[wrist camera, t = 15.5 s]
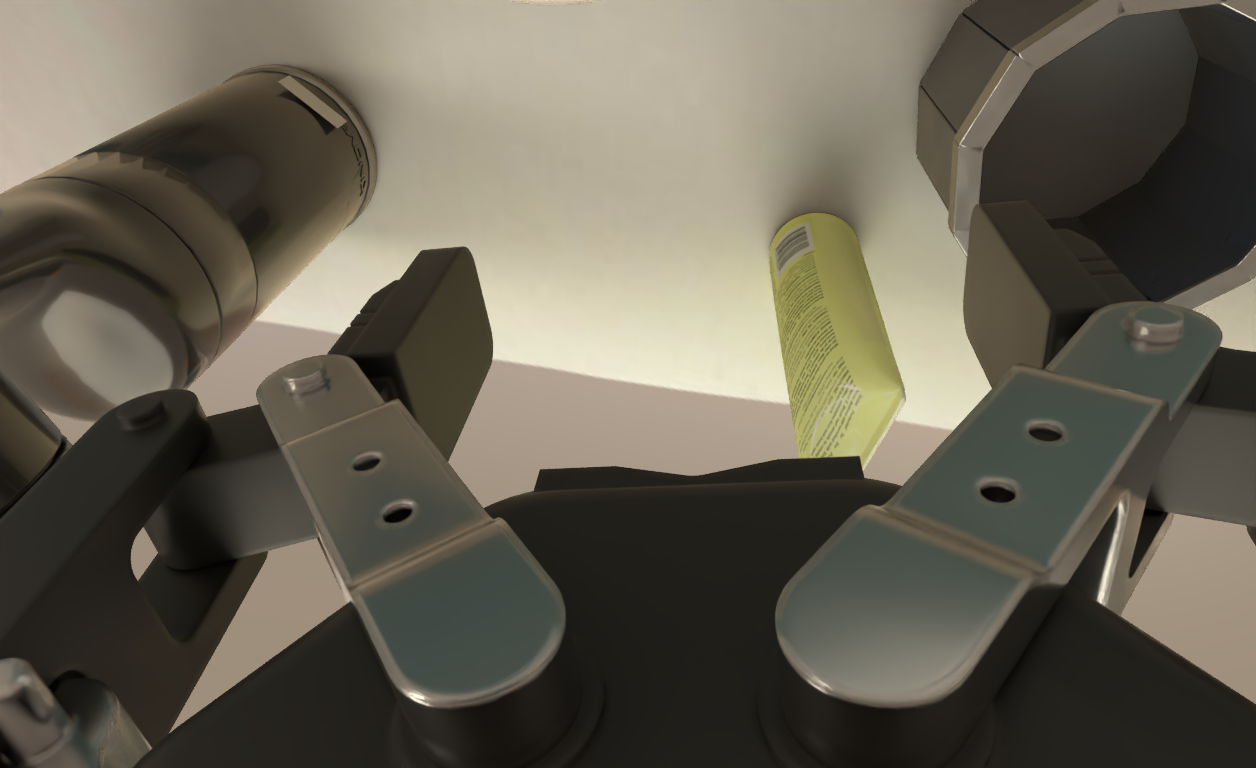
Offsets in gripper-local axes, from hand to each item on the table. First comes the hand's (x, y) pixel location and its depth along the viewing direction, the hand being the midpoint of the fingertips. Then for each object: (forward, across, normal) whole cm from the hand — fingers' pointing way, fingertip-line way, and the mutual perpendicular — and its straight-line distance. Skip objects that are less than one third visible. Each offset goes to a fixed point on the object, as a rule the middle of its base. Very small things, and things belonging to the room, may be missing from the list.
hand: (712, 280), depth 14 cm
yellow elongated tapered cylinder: (+32, -4, +14) cm, 35 cm away
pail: (+32, -16, +7) cm, 37 cm away
